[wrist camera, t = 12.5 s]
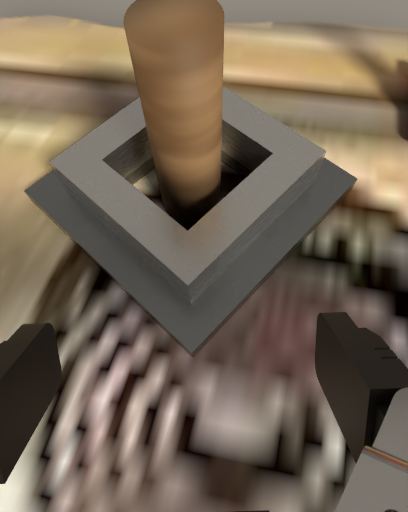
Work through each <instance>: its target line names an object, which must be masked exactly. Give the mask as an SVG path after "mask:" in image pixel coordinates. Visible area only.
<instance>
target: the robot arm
mask: <svg viewBox="0 0 408 512" xmlns="http://www.w3.org/2000/svg"><path fill="white" fill-rule="evenodd" d="M315 368H316V374H317V378H318V380H319V383H320V385H321V387H322V389H323V392H324V394H325V396H326V398H327V400H328V403H329V405H330V407H331V409H332V411H333V414H334V416H335V418H336V420H337V422H338V425H339V427H340V429H341V431H342V434H343V436H344V438H345V440H346V442H347V445H348V447H349V449H350V451H351V453H352V456H353V458H354V460H355V462H356V466H355V468H354V470H353V473H352V475H351V477H350V479H349V481H348V484H347V486H346V488H345V490H344V493H343V495H342V497H341V499H340V502H339V504H338V506H337V508H336V510H335V512H408V369H407V367H406V366H405V365H404V364H403V363H402V362H401V360H400V359H398V358H397V356H396V354H395V353H394V352H393V351H392V350H390V347H389V346H388V345H387V344H386V343H385V341H384V340H383V339H382V338H381V337H380V336H378V335H377V334H375V333H373V332H372V331H370V330H368V329H367V328H358V327H357V326H356V325H355V323H354V322H353V321H352V319H351V318H350V317H349V315H348V314H347V313H346V312H332V313H319V315H318V318H317V331H316V349H315ZM60 381H61V364H60V359H59V354H58V349H57V343H56V338H55V333H54V329H53V326H52V325H51V324H50V323H35V324H23V325H22V326H21V327H20V328H19V329H18V330H17V331H16V332H15V333H14V334H13V335H12V336H11V337H10V338H9V339H8V340H7V341H4V342H2V343H1V344H0V484H5V482H6V481H7V479H8V477H9V475H10V474H11V472H12V470H13V468H14V466H15V465H16V463H17V461H18V459H19V458H20V456H21V454H22V452H23V451H24V449H25V447H26V445H27V443H28V442H29V440H30V438H31V436H32V435H33V433H34V431H35V429H36V427H37V426H38V424H39V422H40V420H41V419H42V417H43V415H44V413H45V411H46V410H47V408H48V406H49V404H50V403H51V401H52V399H53V397H54V395H55V394H56V392H57V390H58V388H59V385H60ZM236 512H269V510H268V511H236Z"/></svg>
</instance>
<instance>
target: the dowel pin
mask: <svg viewBox="0 0 408 512" xmlns="http://www.w3.org/2000/svg"><path fill="white" fill-rule="evenodd" d="M124 28H125V32H126V37H127V41H128V46H129V50H130V55H131V60H132V64H133V69H134V73H135V78H136V82H137V87H138V92H139V96H140V101H141V105H142V110H143V115H144V119H145V124H146V128H147V133H148V137H149V142H150V147H151V151H152V156H153V160H154V165H155V169H156V174H157V179H158V183H159V188H160V192H161V197H162V201H163V205H164V207H165V209H166V211H167V212H168V213H169V214H170V215H171V216H173V217H174V218H176V219H179V220H182V221H188V222H193V221H199V220H200V219H201V218H202V217H203V216H205V215H206V214H207V213H208V212H209V211H210V210H211V209H212V208H213V207H214V206H216V205H217V204H218V203H219V202H220V197H221V149H222V100H223V51H224V11H223V9H222V7H221V5H220V4H219V3H218V2H217V0H136V1H135V2H134V3H133V4H131V6H130V7H129V8H128V9H127V11H126V13H125V16H124Z"/></svg>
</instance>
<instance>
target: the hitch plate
mask: <svg viewBox="0 0 408 512" xmlns="http://www.w3.org/2000/svg"><path fill="white" fill-rule="evenodd" d="M325 153H326V151H325V150H324V149H322V148H321V147H319V146H317V145H316V144H314V143H313V142H311V141H309V140H308V139H306V138H305V137H303V136H301V135H300V134H298V133H297V132H295V131H293V130H292V129H290V128H289V127H287V126H286V125H284V124H282V123H281V122H279V121H278V120H276V119H274V118H273V117H271V116H270V115H268V114H266V113H265V112H263V111H262V110H260V109H258V108H257V107H255V106H254V105H252V104H250V103H249V102H247V101H246V100H244V99H243V98H241V97H239V96H238V95H236V94H235V93H233V92H231V91H230V90H228V89H227V88H225V87H223V100H222V149H221V161H223V162H224V163H225V164H227V165H228V166H230V167H231V168H232V169H234V170H235V171H237V172H238V173H239V174H241V175H242V176H244V177H245V179H244V180H243V181H242V182H241V183H240V184H239V185H238V186H236V187H235V188H234V189H233V190H232V191H231V192H230V193H229V194H228V195H227V196H225V197H224V198H223V199H222V200H221V201H220V202H219V203H218V204H217V205H216V206H214V207H213V208H212V209H211V210H210V211H209V212H208V213H207V214H206V215H205V216H203V217H202V218H201V219H200V220H199V221H198V222H197V223H196V224H195V225H194V226H192V227H191V228H190V229H189V230H188V231H187V230H186V229H185V228H183V227H182V226H181V225H180V224H179V223H177V222H176V221H175V220H174V219H173V218H171V217H170V216H169V215H168V214H167V213H165V212H164V211H163V210H162V209H161V208H159V207H158V206H157V205H156V204H154V203H153V202H152V201H151V200H150V199H148V198H147V197H146V196H145V195H144V194H142V193H141V192H140V191H139V190H138V189H136V188H135V187H134V186H133V184H134V183H136V182H137V181H138V180H139V179H140V178H142V177H143V176H144V175H145V174H147V173H148V172H149V171H150V170H152V169H153V168H154V167H155V165H154V160H153V156H152V151H151V147H150V142H149V137H148V133H147V128H146V124H145V119H144V115H143V110H142V105H141V101H140V97H139V98H137V99H136V100H135V101H133V102H132V103H130V104H129V105H128V106H126V107H125V108H123V109H122V110H121V111H119V112H118V113H117V114H115V115H114V116H112V117H111V118H110V119H108V120H107V121H105V122H104V123H103V124H101V125H100V126H98V127H97V128H96V129H94V130H93V131H91V132H90V133H89V134H87V135H86V136H84V137H83V138H82V139H80V140H79V141H77V142H76V143H75V144H73V145H72V146H70V147H69V148H68V149H66V150H65V151H64V152H62V153H61V154H59V155H58V156H57V157H55V158H54V159H52V160H51V161H50V164H51V166H52V167H53V169H54V170H53V171H51V172H50V173H49V174H47V175H46V176H45V177H43V178H42V179H40V180H39V181H38V182H36V183H35V184H34V185H32V186H31V187H29V188H28V189H27V190H25V192H26V194H27V195H28V196H29V198H30V199H31V200H32V201H33V202H34V203H35V204H36V205H37V206H38V207H39V208H40V209H41V210H42V211H43V212H44V213H45V214H46V215H47V216H48V217H49V218H50V219H51V220H52V221H53V222H54V223H55V224H56V225H57V226H58V227H59V228H60V229H61V230H62V231H63V232H64V233H65V234H66V235H67V236H69V237H70V238H71V239H72V240H73V241H74V242H75V243H76V244H77V245H78V246H79V247H80V248H81V249H82V250H83V251H84V252H85V253H86V254H87V255H88V256H89V257H90V258H91V259H92V260H93V261H94V262H95V263H96V264H97V265H98V266H99V267H100V268H101V269H102V270H103V271H104V272H106V273H107V274H108V275H109V276H110V277H111V278H112V279H113V280H114V281H115V282H116V283H117V284H118V285H119V286H120V287H121V288H122V289H123V290H124V291H125V292H126V293H127V294H128V295H129V296H130V297H131V298H132V299H133V300H134V301H135V302H136V303H137V304H138V305H139V306H140V307H142V308H143V309H144V310H145V311H146V312H147V313H148V314H149V315H150V316H151V317H152V318H153V319H154V320H155V321H156V322H157V323H158V324H159V325H160V326H161V327H162V328H163V329H164V330H165V331H166V332H167V333H168V334H169V335H170V336H171V337H172V338H173V339H174V340H175V341H176V342H177V343H179V344H180V345H181V346H182V347H183V348H184V349H185V350H186V351H187V352H188V353H189V354H190V355H191V356H192V357H194V356H195V355H196V354H197V352H198V351H199V350H200V349H201V348H202V347H203V346H204V345H205V344H206V343H207V342H208V341H209V340H210V339H211V338H212V337H213V336H214V334H215V333H216V332H217V331H218V330H219V329H220V328H221V327H222V326H223V325H224V324H225V323H226V322H227V321H228V320H229V319H230V318H231V316H232V315H233V314H234V313H235V312H236V311H237V310H238V309H239V308H240V307H241V306H242V305H243V304H244V303H245V302H246V301H247V300H248V298H249V297H250V296H251V295H252V294H253V293H254V292H255V291H256V290H257V289H258V288H259V287H260V286H261V285H262V284H263V283H264V282H265V280H266V279H267V278H268V277H269V276H270V275H271V274H272V273H273V272H274V271H275V270H276V269H277V268H278V267H279V266H280V265H281V264H282V262H283V261H284V260H285V259H286V258H287V257H288V256H289V255H290V254H291V253H292V252H293V251H294V250H295V249H296V248H297V247H298V246H299V244H300V243H301V242H302V241H303V240H304V239H305V238H306V237H307V236H308V235H309V234H310V233H311V232H312V231H313V230H314V229H315V228H316V226H317V225H318V224H319V223H320V222H321V221H322V220H323V219H324V218H325V217H326V216H327V215H328V214H329V213H330V212H331V211H332V210H333V209H334V207H335V206H336V205H337V204H338V203H339V202H340V201H341V200H342V199H343V198H344V197H345V196H346V195H347V194H348V193H349V192H350V191H351V189H352V188H353V186H354V184H355V182H356V180H357V178H355V177H354V176H352V175H351V174H349V173H348V172H346V171H344V170H343V169H341V168H340V167H338V166H337V165H335V164H333V163H332V162H330V161H329V160H327V159H326V158H324V156H325Z"/></svg>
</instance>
